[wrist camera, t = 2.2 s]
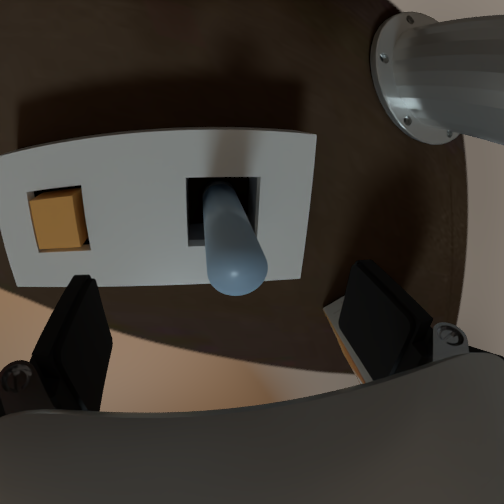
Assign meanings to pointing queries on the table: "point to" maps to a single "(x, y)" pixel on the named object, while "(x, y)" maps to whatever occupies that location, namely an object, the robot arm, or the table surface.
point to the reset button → (59, 219)
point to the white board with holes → (156, 202)
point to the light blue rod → (230, 242)
